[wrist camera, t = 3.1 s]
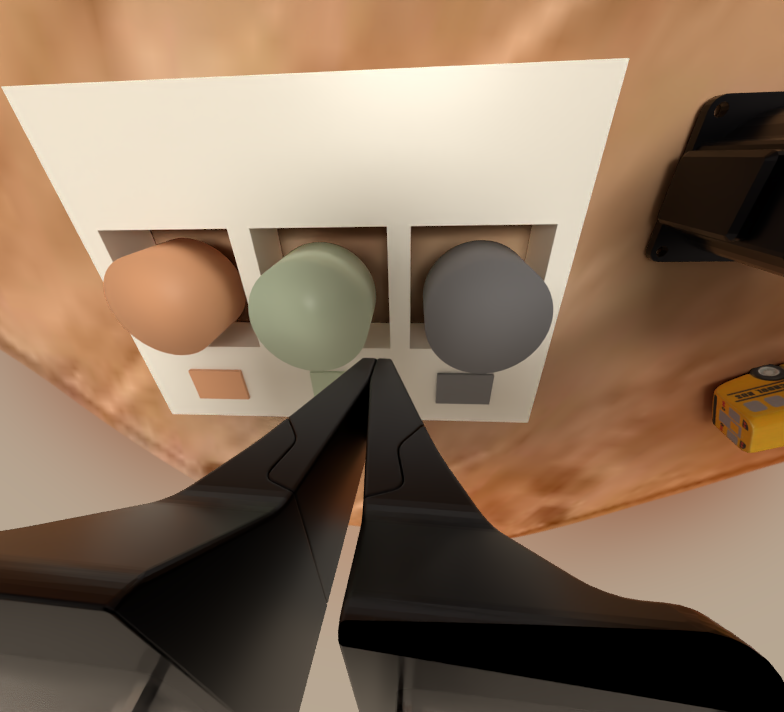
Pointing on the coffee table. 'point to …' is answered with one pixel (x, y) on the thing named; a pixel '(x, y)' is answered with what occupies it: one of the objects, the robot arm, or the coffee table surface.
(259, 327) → the sage button
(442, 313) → the charcoal button
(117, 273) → the rust button
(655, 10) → the coffee table surface
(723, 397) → the toy bus
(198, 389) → the panel
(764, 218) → the robot arm
